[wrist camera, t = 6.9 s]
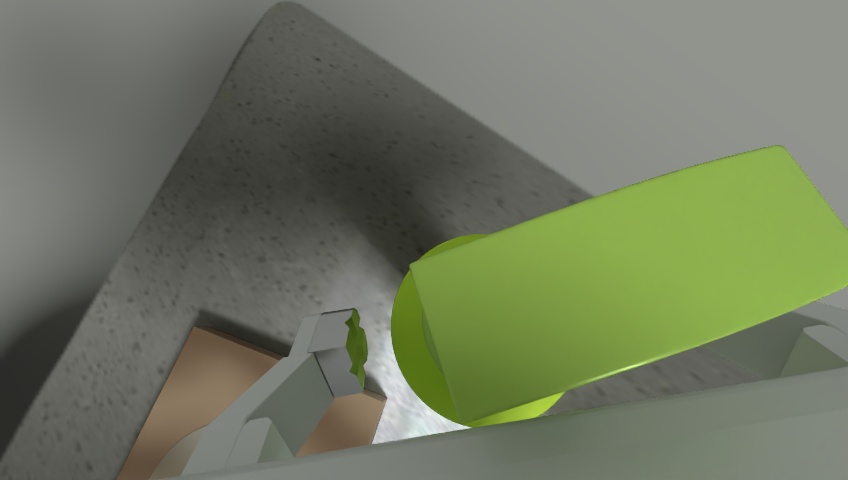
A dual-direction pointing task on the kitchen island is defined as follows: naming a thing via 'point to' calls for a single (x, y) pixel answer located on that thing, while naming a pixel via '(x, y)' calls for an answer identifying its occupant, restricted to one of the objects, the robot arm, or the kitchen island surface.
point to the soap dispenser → (613, 285)
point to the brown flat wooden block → (215, 391)
